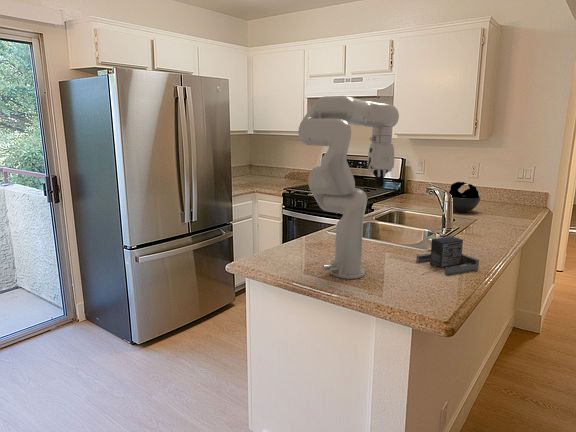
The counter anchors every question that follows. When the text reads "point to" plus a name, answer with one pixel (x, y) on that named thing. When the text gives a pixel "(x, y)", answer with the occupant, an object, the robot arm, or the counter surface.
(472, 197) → the coal bowl
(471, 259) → the rack bay
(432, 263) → the small box
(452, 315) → the counter surface
